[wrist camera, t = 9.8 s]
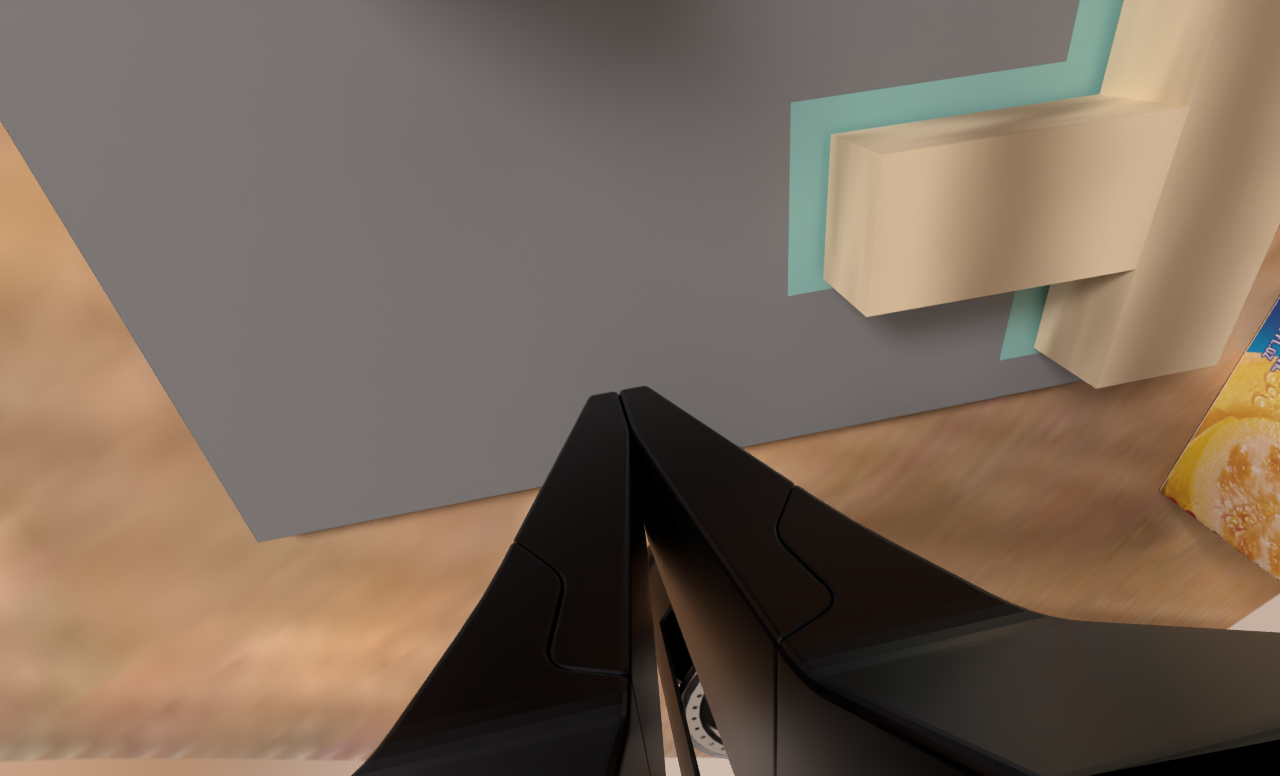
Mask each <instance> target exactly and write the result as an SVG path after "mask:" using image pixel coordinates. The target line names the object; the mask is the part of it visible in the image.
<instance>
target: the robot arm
mask: <svg viewBox="0 0 1280 776" xmlns="http://www.w3.org/2000/svg"><path fill="white" fill-rule="evenodd" d="M644 527H645V528H644ZM645 531H646V535H647V538H648V541H649V544H650V547H651V550H652V553H653V556H654V559H655V561H656V564H657V567H658V569H659V572H660V575H661V578H662V580H663V583H664V586H665V588H666V591H667V594H668V596H669V599H670V602H671V605H672V607H673V610H674V613H675V615H676V618H677V621H678V623H679V626H680V629H681V632H682V634H683V637H684V640H685V642H686V645H687V648H688V650H689V653H690V656H691V659H692V661H693V664H694V667H695V669H696V672H697V675H698V678H699V680H700V683H701V686H702V688H703V691H704V694H705V696H706V699H707V702H708V705H709V707H710V710H711V713H712V715H713V718H714V721H715V723H716V726H717V729H718V732H719V734H720V737H721V740H722V742H723V745H724V748H725V750H726V753H727V756H728V759H729V761H730V764H731V767H732V769H733V772H734V774H735V776H1280V633H1276V632H1259V631H1241V630H1226V629H1209V628H1192V627H1175V626H1158V625H1141V624H1124V623H1107V622H1091V621H1078V620H1069V619H1063V618H1058V617H1052V616H1048V615H1044V614H1041V613H1037V612H1034V611H1031V610H1028V609H1025V608H1023V607H1020V606H1018V605H1015V604H1012V603H1010V602H1008V601H1006V600H1004V599H1002V598H999V597H997V596H995V595H993V594H991V593H989V592H987V591H985V590H983V589H981V588H980V587H978V586H976V585H974V584H972V583H970V582H968V581H966V580H964V579H962V578H960V577H958V576H957V575H955V574H953V573H951V572H949V571H947V570H945V569H943V568H941V567H939V566H937V565H935V564H934V563H932V562H930V561H928V560H926V559H924V558H922V557H920V556H918V555H916V554H914V553H913V552H911V551H909V550H907V549H905V548H903V547H901V546H899V545H897V544H895V543H893V542H891V541H890V540H888V539H886V538H884V537H882V536H881V535H879V534H877V533H875V532H873V531H871V530H870V529H868V528H866V527H864V526H862V525H861V524H859V523H857V522H855V521H853V520H852V519H850V518H848V517H847V516H845V515H843V514H842V513H840V512H839V511H837V510H835V509H834V508H832V507H831V506H829V505H827V504H826V503H824V502H822V501H821V500H819V499H818V498H816V497H815V496H813V495H812V494H810V493H809V492H807V491H806V490H804V489H803V488H801V487H800V486H795V485H794V483H793V482H792V481H790V480H789V479H787V478H786V477H784V476H783V475H781V474H779V473H778V472H776V471H775V470H773V469H772V468H770V467H769V466H767V465H766V464H764V463H763V462H761V461H760V460H758V459H757V458H755V457H754V456H752V455H751V454H749V453H748V452H746V451H745V450H743V449H742V448H740V447H739V446H737V445H736V444H734V443H733V442H731V441H730V440H728V439H727V438H725V437H724V436H722V435H721V434H719V433H718V432H716V431H715V430H713V429H712V428H710V427H709V426H707V425H706V424H704V423H702V422H701V421H699V420H698V419H696V418H695V417H693V416H692V415H690V414H689V413H687V412H686V411H684V410H683V409H681V408H680V407H678V406H677V405H675V404H674V403H672V402H671V401H669V400H668V399H666V398H665V397H663V396H662V395H660V394H659V393H657V392H656V391H654V390H653V389H651V388H650V387H648V386H639V387H634V388H628V389H623V390H621V391H620V393H619V395H618V393H617V392H614V391H612V392H607V393H601V394H596V395H592V396H590V397H589V398H588V400H587V402H586V404H585V405H584V407H583V409H582V411H581V413H580V415H579V417H578V419H577V421H576V423H575V425H574V426H573V428H572V430H571V432H570V434H569V436H568V438H567V440H566V442H565V444H564V445H563V447H562V449H561V451H560V453H559V455H558V457H557V459H556V461H555V463H554V465H553V466H552V468H551V470H550V472H549V474H548V476H547V478H546V480H545V482H544V484H543V486H542V487H541V489H540V491H539V493H538V495H537V497H536V499H535V501H534V503H533V505H532V507H531V508H530V510H529V512H528V514H527V516H526V518H525V520H524V522H523V524H522V526H521V527H520V529H519V531H518V533H517V535H516V537H515V539H514V543H513V544H511V546H510V548H509V550H508V552H507V554H506V556H505V557H504V559H503V561H502V563H501V565H500V567H499V569H498V570H497V572H496V574H495V576H494V577H493V579H492V581H491V583H490V584H489V586H488V588H487V590H486V591H485V593H484V595H483V597H482V598H481V600H480V601H479V603H478V604H477V606H476V607H475V609H474V610H473V612H472V613H471V615H470V616H469V618H468V619H467V621H466V622H465V624H464V625H463V627H462V628H461V630H460V632H459V633H458V635H457V636H456V637H455V639H454V640H453V642H452V643H451V645H450V646H449V647H448V649H447V650H446V652H445V653H444V655H443V656H442V657H441V659H440V660H439V662H438V663H437V665H436V666H435V667H434V669H433V670H432V672H431V673H430V675H429V676H428V677H427V679H426V680H425V682H424V683H423V685H422V686H421V687H420V689H419V690H418V692H417V693H416V695H415V696H414V697H413V699H412V700H411V702H410V703H409V705H408V706H407V708H406V709H405V710H404V712H403V713H402V715H401V716H400V718H399V719H398V720H397V722H396V723H395V725H394V726H393V728H392V729H391V730H390V732H389V733H388V734H387V736H386V737H385V738H384V740H383V741H382V742H381V744H380V745H379V746H378V747H377V749H376V750H375V751H374V752H373V753H372V754H371V755H370V757H369V758H368V759H367V760H366V761H365V762H364V764H363V765H362V766H361V767H360V768H359V769H357V770H356V771H355V772H354V773H353V774H352V775H351V776H666V772H665V760H664V748H663V735H662V723H661V711H660V698H659V686H658V674H657V661H656V649H655V636H654V624H653V612H652V599H651V587H650V575H649V562H648V551H647V542H646V535H645Z"/></svg>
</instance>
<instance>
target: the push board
mask: <svg viewBox="0 0 1280 776" xmlns="http://www.w3.org/2000/svg"><path fill="white" fill-rule="evenodd" d="M1123 2H1124V0H0V121H1V122H2V124H3V126H4V127H5V129H6V131H7V132H8V134H9V136H10V137H11V139H12V140H13V142H14V144H15V145H16V147H17V149H18V150H19V152H20V154H21V155H22V157H23V159H24V160H25V162H26V163H27V165H28V167H29V168H30V170H31V172H32V173H33V175H34V177H35V178H36V180H37V181H38V183H39V185H40V186H41V188H42V190H43V191H44V193H45V195H46V196H47V198H48V199H49V201H50V203H51V204H52V206H53V208H54V209H55V211H56V213H57V214H58V216H59V218H60V219H61V221H62V222H63V224H64V226H65V227H66V229H67V231H68V232H69V234H70V236H71V237H72V239H73V240H74V242H75V244H76V245H77V247H78V249H79V250H80V252H81V254H82V255H83V257H84V258H85V260H86V262H87V263H88V265H89V267H90V268H91V270H92V272H93V273H94V275H95V277H96V278H97V280H98V281H99V283H100V285H101V286H102V288H103V290H104V291H105V293H106V295H107V296H108V298H109V299H110V301H111V303H112V304H113V306H114V308H115V309H116V311H117V313H118V314H119V316H120V317H121V319H122V321H123V322H124V324H125V326H126V327H127V329H128V331H129V332H130V334H131V335H132V337H133V339H134V340H135V342H136V344H137V345H138V347H139V349H140V350H141V352H142V354H143V355H144V357H145V358H146V360H147V362H148V363H149V365H150V367H151V368H152V370H153V372H154V373H155V375H156V376H157V378H158V380H159V381H160V383H161V385H162V386H163V388H164V390H165V391H166V393H167V394H168V396H169V398H170V399H171V401H172V403H173V404H174V406H175V408H176V409H177V411H178V413H179V414H180V416H181V417H182V419H183V421H184V422H185V424H186V426H187V427H188V429H189V431H190V432H191V434H192V435H193V437H194V439H195V440H196V442H197V444H198V445H199V447H200V449H201V450H202V452H203V453H204V455H205V457H206V458H207V460H208V462H209V463H210V465H211V467H212V468H213V470H214V472H215V473H216V475H217V476H218V478H219V480H220V481H221V483H222V485H223V486H224V488H225V490H226V491H227V493H228V494H229V496H230V498H231V499H232V501H233V503H234V504H235V506H236V508H237V509H238V511H239V512H240V514H241V516H242V517H243V519H244V521H245V522H246V524H247V526H248V527H249V529H250V530H251V532H252V534H253V535H254V537H255V539H256V540H257V542H263V541H268V540H273V539H278V538H283V537H288V536H293V535H298V534H304V533H309V532H314V531H319V530H324V529H329V528H334V527H339V526H344V525H349V524H354V523H359V522H365V521H370V520H375V519H380V518H385V517H390V516H395V515H400V514H405V513H410V512H415V511H421V510H426V509H431V508H436V507H441V506H446V505H451V504H456V503H461V502H466V501H471V500H476V499H482V498H487V497H492V496H497V495H502V494H507V493H512V492H517V491H522V490H527V489H532V488H538V487H542V486H543V484H544V482H545V480H546V478H547V476H548V474H549V472H550V470H551V468H552V466H553V465H554V463H555V461H556V459H557V457H558V455H559V453H560V451H561V449H562V447H563V445H564V444H565V442H566V440H567V438H568V436H569V434H570V432H571V430H572V428H573V426H574V425H575V423H576V421H577V419H578V417H579V415H580V413H581V411H582V409H583V407H584V405H585V404H586V402H587V400H588V398H589V397H590V396H592V395H596V394H601V393H607V392H612V391H614V392H617V393H618V395H619V393H620V391H621V390H623V389H628V388H634V387H639V386H648V387H650V388H651V389H653V390H654V391H656V392H657V393H659V394H660V395H662V396H663V397H665V398H666V399H668V400H669V401H671V402H672V403H674V404H675V405H677V406H678V407H680V408H681V409H683V410H684V411H686V412H687V413H689V414H690V415H692V416H693V417H695V418H696V419H698V420H699V421H701V422H702V423H704V424H706V425H707V426H709V427H710V428H712V429H713V430H715V431H716V432H718V433H719V434H721V435H722V436H724V437H725V438H727V439H728V440H730V441H731V442H733V443H734V444H736V445H737V446H739V447H740V448H741V447H746V446H751V445H756V444H761V443H766V442H772V441H777V440H782V439H787V438H792V437H797V436H802V435H807V434H812V433H817V432H822V431H827V430H833V429H838V428H843V427H848V426H853V425H858V424H863V423H868V422H873V421H878V420H883V419H889V418H894V417H899V416H904V415H909V414H914V413H919V412H924V411H929V410H934V409H939V408H944V407H950V406H955V405H960V404H965V403H970V402H975V401H980V400H985V399H990V398H995V397H1000V396H1006V395H1011V394H1016V393H1021V392H1026V391H1031V390H1036V389H1041V388H1046V387H1051V386H1056V385H1061V384H1067V383H1072V382H1077V381H1082V379H1081V378H1079V377H1077V376H1076V375H1074V374H1073V373H1071V372H1070V371H1068V370H1067V369H1065V368H1064V367H1062V366H1061V365H1059V364H1058V363H1056V362H1055V361H1053V360H1052V359H1050V358H1049V357H1047V356H1045V355H1044V354H1042V353H1041V352H1039V351H1038V350H1036V349H1035V348H1034V345H1035V341H1036V337H1037V334H1038V330H1039V326H1040V322H1041V318H1042V314H1043V310H1044V307H1045V303H1046V299H1047V295H1048V291H1049V287H1050V285H1045V286H1039V287H1034V288H1028V289H1022V290H1017V291H1011V292H1005V293H1000V294H994V295H988V296H983V297H977V298H972V299H966V300H960V301H955V302H949V303H943V304H938V305H932V306H926V307H921V308H915V309H909V310H904V311H898V312H893V313H887V314H881V315H876V316H870V317H866V316H865V315H863V314H862V313H861V312H860V311H859V310H858V309H857V308H855V307H854V306H853V305H852V304H851V303H850V302H849V301H847V300H846V299H845V298H844V297H843V296H842V295H841V294H840V293H838V292H837V291H836V290H835V289H834V288H833V287H832V286H830V285H829V284H828V283H827V282H826V281H825V280H824V279H823V274H824V255H825V236H826V217H827V198H828V179H829V160H830V141H831V134H836V133H843V132H850V131H856V130H863V129H870V128H876V127H883V126H890V125H896V124H903V123H910V122H916V121H923V120H930V119H936V118H943V117H950V116H956V115H963V114H970V113H976V112H983V111H990V110H996V109H1003V108H1010V107H1016V106H1023V105H1030V104H1036V103H1043V102H1050V101H1056V100H1063V99H1070V98H1076V97H1083V96H1090V95H1096V94H1100V90H1101V87H1102V83H1103V79H1104V75H1105V71H1106V67H1107V63H1108V60H1109V56H1110V52H1111V48H1112V44H1113V40H1114V36H1115V32H1116V29H1117V25H1118V21H1119V17H1120V13H1121V9H1122V5H1123Z"/></svg>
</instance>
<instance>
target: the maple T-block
mask: <svg viewBox="0 0 1280 776" xmlns="http://www.w3.org/2000/svg"><path fill="white" fill-rule="evenodd" d="M1279 224H1280V0H1124V2H1123V5H1122V9H1121V13H1120V17H1119V21H1118V25H1117V29H1116V32H1115V36H1114V40H1113V44H1112V48H1111V52H1110V56H1109V60H1108V63H1107V67H1106V71H1105V75H1104V79H1103V83H1102V87H1101V90H1100V94H1096V95H1090V96H1083V97H1076V98H1070V99H1063V100H1056V101H1050V102H1043V103H1036V104H1030V105H1023V106H1016V107H1010V108H1003V109H996V110H990V111H983V112H976V113H970V114H963V115H956V116H950V117H943V118H936V119H930V120H923V121H916V122H910V123H903V124H896V125H890V126H883V127H876V128H870V129H863V130H856V131H850V132H843V133H836V134H831V141H830V160H829V179H828V198H827V217H826V236H825V255H824V274H823V279H824V280H825V281H826V282H827V283H828V284H829V285H830V286H832V287H833V288H834V289H835V290H836V291H837V292H838V293H840V294H841V295H842V296H843V297H844V298H845V299H846V300H847V301H849V302H850V303H851V304H852V305H853V306H854V307H855V308H857V309H858V310H859V311H860V312H861V313H862V314H863V315H865V316H866V317H870V316H876V315H881V314H887V313H893V312H898V311H904V310H909V309H915V308H921V307H926V306H932V305H938V304H943V303H949V302H955V301H960V300H966V299H972V298H977V297H983V296H988V295H994V294H1000V293H1005V292H1011V291H1017V290H1022V289H1028V288H1034V287H1039V286H1045V285H1050V287H1049V291H1048V295H1047V299H1046V303H1045V307H1044V310H1043V314H1042V318H1041V322H1040V326H1039V330H1038V334H1037V337H1036V341H1035V345H1034V348H1035V349H1036V350H1038V351H1039V352H1041V353H1042V354H1044V355H1045V356H1047V357H1049V358H1050V359H1052V360H1053V361H1055V362H1056V363H1058V364H1059V365H1061V366H1062V367H1064V368H1065V369H1067V370H1068V371H1070V372H1071V373H1073V374H1074V375H1076V376H1077V377H1079V378H1081V379H1082V380H1084V381H1085V382H1087V383H1088V384H1090V385H1091V386H1093V387H1094V388H1096V389H1097V388H1102V387H1108V386H1113V385H1118V384H1123V383H1128V382H1133V381H1138V380H1144V379H1149V378H1154V377H1159V376H1164V375H1169V374H1174V373H1180V372H1185V371H1190V370H1195V369H1200V368H1205V367H1210V366H1216V365H1217V364H1218V362H1219V359H1220V357H1221V355H1222V353H1223V350H1224V348H1225V346H1226V344H1227V341H1228V339H1229V337H1230V335H1231V332H1232V330H1233V328H1234V326H1235V323H1236V321H1237V319H1238V317H1239V314H1240V312H1241V310H1242V308H1243V305H1244V303H1245V301H1246V299H1247V296H1248V294H1249V292H1250V290H1251V287H1252V285H1253V283H1254V281H1255V278H1256V276H1257V274H1258V271H1259V269H1260V267H1261V265H1262V262H1263V260H1264V258H1265V256H1266V253H1267V251H1268V249H1269V247H1270V244H1271V242H1272V240H1273V238H1274V235H1275V233H1276V231H1277V229H1278V226H1279Z"/></svg>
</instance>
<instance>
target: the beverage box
mask: <svg viewBox="0 0 1280 776" xmlns="http://www.w3.org/2000/svg"><path fill="white" fill-rule="evenodd" d="M1159 491H1160V492H1161V493H1162V494H1164V495H1165V496H1166V497H1168V498H1169V499H1170V500H1172V501H1173V502H1174V503H1176V504H1177V505H1178V506H1180V507H1181V508H1182V509H1184V510H1185V511H1186V512H1188V513H1189V514H1190V515H1192V516H1193V517H1194V518H1196V519H1197V520H1198V521H1200V522H1201V523H1202V524H1204V525H1205V526H1206V527H1208V528H1209V529H1210V530H1212V531H1213V532H1214V533H1216V534H1217V535H1218V536H1220V537H1221V538H1222V539H1224V540H1225V541H1226V542H1228V543H1229V544H1230V545H1232V546H1233V547H1234V548H1236V549H1237V550H1238V551H1240V552H1241V553H1242V554H1244V555H1245V556H1246V557H1248V558H1249V559H1250V560H1252V561H1253V562H1254V563H1256V564H1257V565H1258V566H1260V567H1261V568H1262V569H1264V570H1265V571H1266V572H1268V573H1269V574H1270V575H1272V576H1273V577H1274V578H1275V579H1277V580H1278V581H1279V582H1280V296H1279V298H1278V299H1277V301H1276V302H1275V304H1274V306H1273V307H1272V309H1271V311H1270V312H1269V314H1268V315H1267V317H1266V319H1265V320H1264V322H1263V323H1262V325H1261V327H1260V328H1259V330H1258V332H1257V333H1256V335H1255V336H1254V338H1253V340H1252V341H1251V343H1250V344H1249V346H1248V348H1247V349H1246V351H1245V352H1244V354H1243V356H1242V357H1241V359H1240V361H1239V362H1238V364H1237V365H1236V367H1235V369H1234V370H1233V372H1232V373H1231V375H1230V377H1229V378H1228V380H1227V382H1226V383H1225V385H1224V386H1223V388H1222V390H1221V391H1220V393H1219V394H1218V396H1217V398H1216V399H1215V401H1214V403H1213V404H1212V406H1211V407H1210V409H1209V411H1208V412H1207V414H1206V415H1205V417H1204V419H1203V420H1202V422H1201V424H1200V425H1199V427H1198V428H1197V430H1196V432H1195V433H1194V435H1193V436H1192V438H1191V440H1190V441H1189V443H1188V445H1187V446H1186V448H1185V449H1184V451H1183V453H1182V454H1181V456H1180V457H1179V459H1178V461H1177V462H1176V464H1175V466H1174V467H1173V469H1172V470H1171V472H1170V474H1169V475H1168V477H1167V478H1166V480H1165V482H1164V483H1163V485H1162V487H1161V488H1160V490H1159Z"/></svg>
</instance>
